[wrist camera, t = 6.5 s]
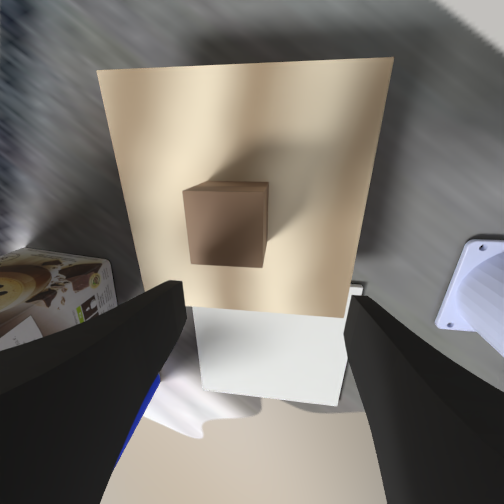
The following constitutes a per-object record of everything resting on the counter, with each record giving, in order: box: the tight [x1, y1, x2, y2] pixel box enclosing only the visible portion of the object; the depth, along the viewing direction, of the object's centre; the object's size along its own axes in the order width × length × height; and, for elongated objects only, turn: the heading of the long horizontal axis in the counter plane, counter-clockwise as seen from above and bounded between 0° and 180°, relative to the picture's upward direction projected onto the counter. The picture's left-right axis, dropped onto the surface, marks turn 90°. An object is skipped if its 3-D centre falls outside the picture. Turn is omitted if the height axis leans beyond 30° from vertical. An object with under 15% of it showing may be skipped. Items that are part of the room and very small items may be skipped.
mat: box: [192, 284, 363, 406], centre depth 23 cm, size 15×15×1 cm
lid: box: [96, 57, 394, 318], centre depth 12 cm, size 14×14×4 cm
